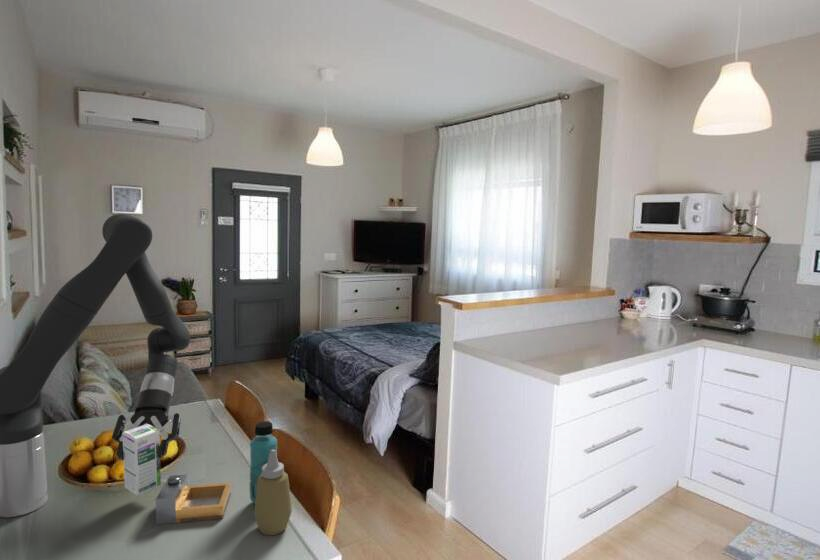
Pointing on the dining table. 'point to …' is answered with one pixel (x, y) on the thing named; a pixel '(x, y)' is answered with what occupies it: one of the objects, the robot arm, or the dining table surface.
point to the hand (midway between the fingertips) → (140, 458)
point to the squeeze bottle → (272, 497)
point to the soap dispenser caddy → (191, 501)
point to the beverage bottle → (260, 453)
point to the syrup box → (141, 459)
